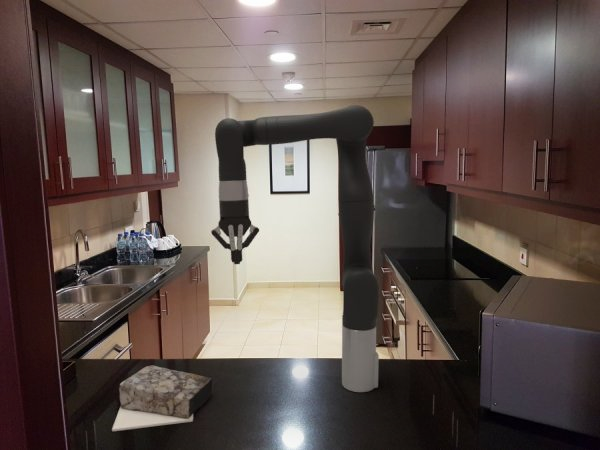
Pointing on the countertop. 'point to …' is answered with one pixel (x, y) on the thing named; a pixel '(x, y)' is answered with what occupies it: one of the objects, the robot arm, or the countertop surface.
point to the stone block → (165, 391)
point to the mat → (144, 419)
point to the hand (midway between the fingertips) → (236, 263)
